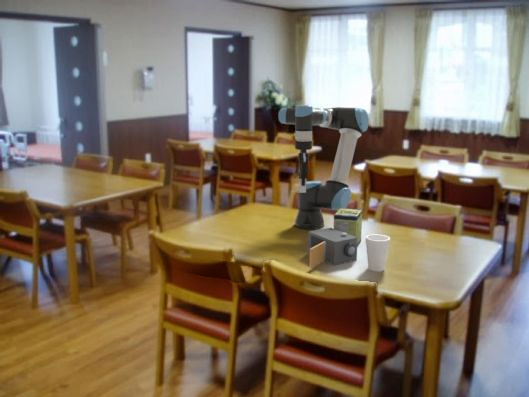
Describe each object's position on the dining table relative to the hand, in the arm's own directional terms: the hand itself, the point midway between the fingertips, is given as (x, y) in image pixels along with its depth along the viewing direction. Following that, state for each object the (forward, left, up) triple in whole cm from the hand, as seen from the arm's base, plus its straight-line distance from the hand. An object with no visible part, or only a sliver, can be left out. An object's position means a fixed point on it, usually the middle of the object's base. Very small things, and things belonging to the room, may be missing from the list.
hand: (302, 192), depth 244 cm
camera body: (0, +22, -24) cm, 33 cm away
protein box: (-17, +12, -25) cm, 32 cm away
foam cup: (-6, +43, -25) cm, 50 cm away
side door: (+13, +28, -23) cm, 39 cm away
